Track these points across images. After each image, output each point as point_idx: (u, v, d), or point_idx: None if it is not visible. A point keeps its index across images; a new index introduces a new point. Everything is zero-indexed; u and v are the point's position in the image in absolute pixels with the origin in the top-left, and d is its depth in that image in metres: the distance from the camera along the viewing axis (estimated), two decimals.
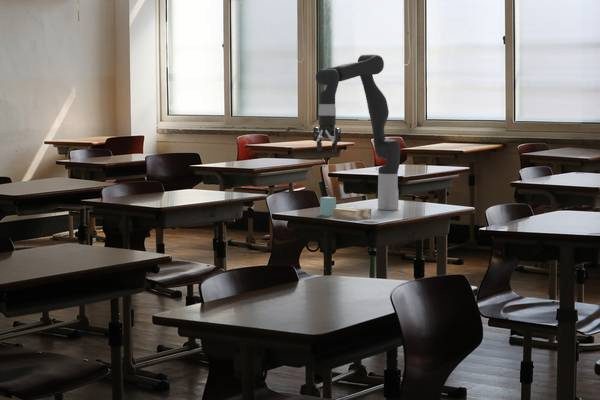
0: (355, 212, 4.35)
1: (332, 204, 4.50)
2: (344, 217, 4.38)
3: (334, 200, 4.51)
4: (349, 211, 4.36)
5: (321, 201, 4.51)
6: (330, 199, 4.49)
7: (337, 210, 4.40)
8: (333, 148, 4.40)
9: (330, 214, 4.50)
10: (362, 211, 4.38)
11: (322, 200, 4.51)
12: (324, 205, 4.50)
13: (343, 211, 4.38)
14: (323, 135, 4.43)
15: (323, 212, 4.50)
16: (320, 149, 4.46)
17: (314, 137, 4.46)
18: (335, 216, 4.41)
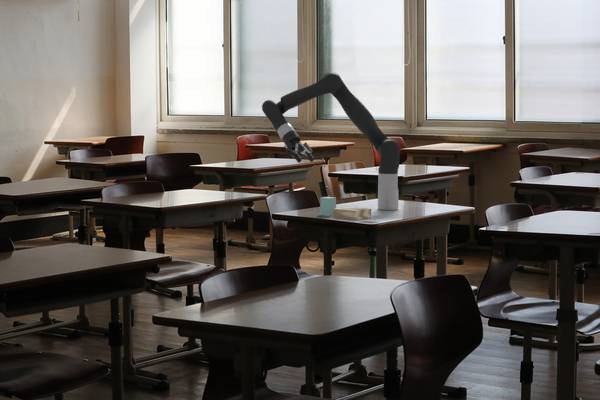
0: (355, 212, 4.35)
1: (332, 204, 4.50)
2: (344, 217, 4.38)
3: (334, 200, 4.51)
4: (349, 211, 4.36)
5: (321, 201, 4.51)
6: (330, 199, 4.49)
7: (337, 210, 4.40)
8: (297, 160, 4.56)
9: (330, 214, 4.50)
10: (362, 211, 4.38)
11: (322, 200, 4.51)
12: (324, 205, 4.50)
13: (343, 211, 4.38)
14: None
15: (323, 212, 4.50)
16: (311, 159, 4.62)
17: None
18: (335, 216, 4.41)
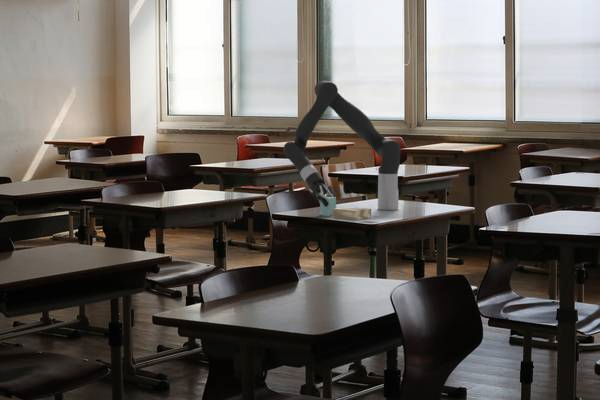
0: (355, 212, 4.35)
1: (332, 204, 4.50)
2: (344, 217, 4.38)
3: (334, 200, 4.51)
4: (349, 211, 4.36)
5: None
6: (330, 199, 4.49)
7: (337, 210, 4.40)
8: (324, 204, 4.49)
9: (330, 214, 4.49)
10: (362, 211, 4.38)
11: None
12: None
13: (343, 211, 4.38)
14: None
15: (323, 212, 4.50)
16: None
17: None
18: (335, 216, 4.41)
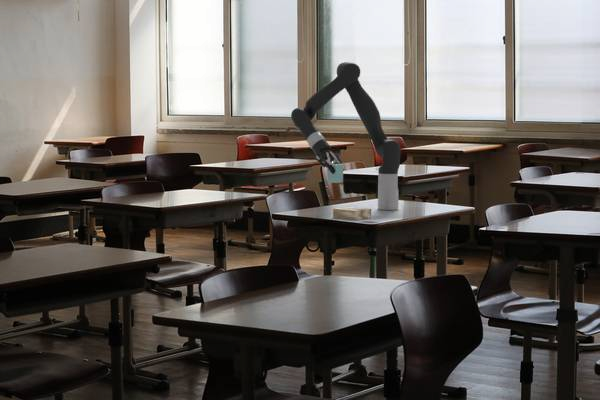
0: (355, 212, 4.35)
1: (339, 171, 4.46)
2: (344, 217, 4.38)
3: (341, 167, 4.47)
4: (349, 211, 4.36)
5: None
6: (337, 166, 4.45)
7: (337, 210, 4.40)
8: (331, 171, 4.45)
9: (337, 181, 4.46)
10: (362, 211, 4.38)
11: None
12: None
13: (343, 211, 4.38)
14: None
15: (330, 179, 4.47)
16: None
17: None
18: (335, 216, 4.41)
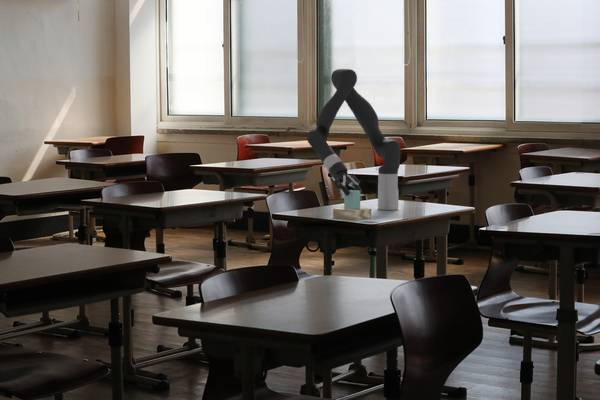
0: (355, 212, 4.35)
1: (356, 197, 4.40)
2: (344, 217, 4.38)
3: (358, 193, 4.41)
4: (349, 211, 4.36)
5: None
6: (354, 192, 4.39)
7: (337, 210, 4.40)
8: (345, 193, 4.39)
9: (354, 207, 4.40)
10: (362, 211, 4.38)
11: None
12: (348, 198, 4.40)
13: (343, 211, 4.38)
14: None
15: (348, 205, 4.41)
16: None
17: None
18: (335, 216, 4.41)
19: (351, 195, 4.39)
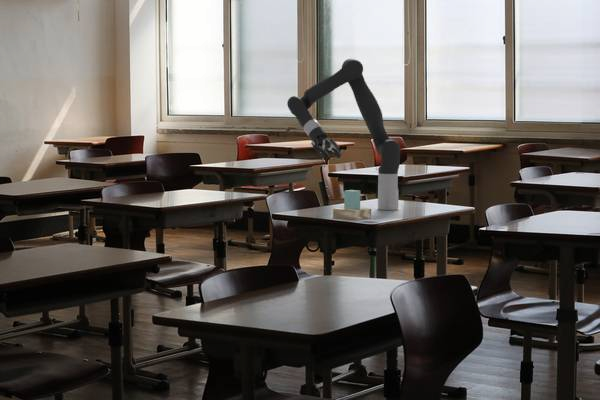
0: (355, 212, 4.35)
1: (356, 197, 4.40)
2: (344, 217, 4.38)
3: (358, 193, 4.41)
4: (349, 211, 4.36)
5: (345, 194, 4.41)
6: (354, 192, 4.39)
7: (337, 210, 4.40)
8: (324, 156, 4.52)
9: (354, 207, 4.40)
10: (362, 211, 4.38)
11: (346, 193, 4.41)
12: (348, 198, 4.40)
13: (343, 211, 4.38)
14: None
15: (348, 205, 4.41)
16: (338, 155, 4.58)
17: None
18: (335, 216, 4.41)
19: (351, 195, 4.39)
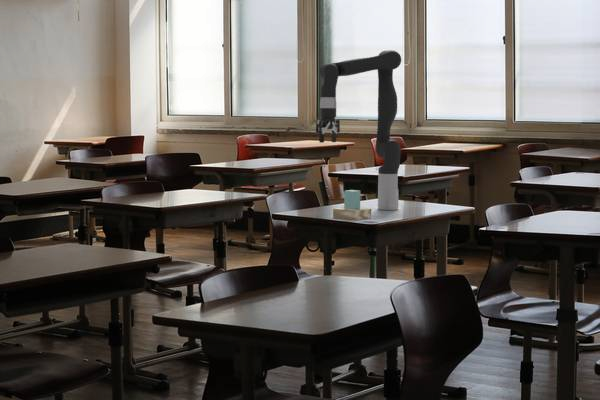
0: (355, 212, 4.35)
1: (356, 197, 4.40)
2: (344, 217, 4.38)
3: (358, 193, 4.41)
4: (349, 211, 4.36)
5: (345, 194, 4.41)
6: (354, 192, 4.39)
7: (337, 210, 4.40)
8: None
9: (354, 207, 4.40)
10: (362, 211, 4.38)
11: (346, 193, 4.41)
12: (348, 198, 4.40)
13: (343, 211, 4.38)
14: None
15: (348, 205, 4.41)
16: (333, 140, 4.68)
17: None
18: (335, 216, 4.41)
19: (351, 195, 4.39)
